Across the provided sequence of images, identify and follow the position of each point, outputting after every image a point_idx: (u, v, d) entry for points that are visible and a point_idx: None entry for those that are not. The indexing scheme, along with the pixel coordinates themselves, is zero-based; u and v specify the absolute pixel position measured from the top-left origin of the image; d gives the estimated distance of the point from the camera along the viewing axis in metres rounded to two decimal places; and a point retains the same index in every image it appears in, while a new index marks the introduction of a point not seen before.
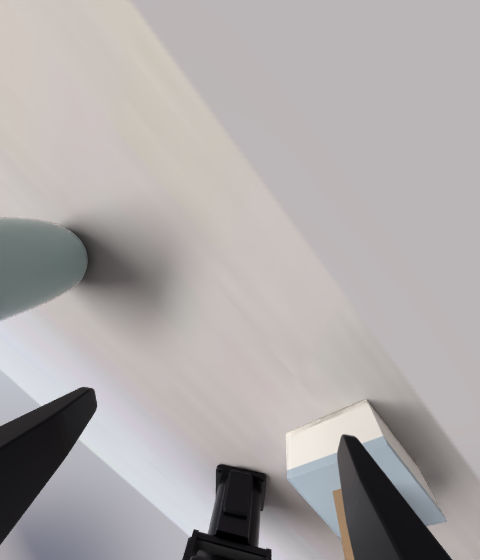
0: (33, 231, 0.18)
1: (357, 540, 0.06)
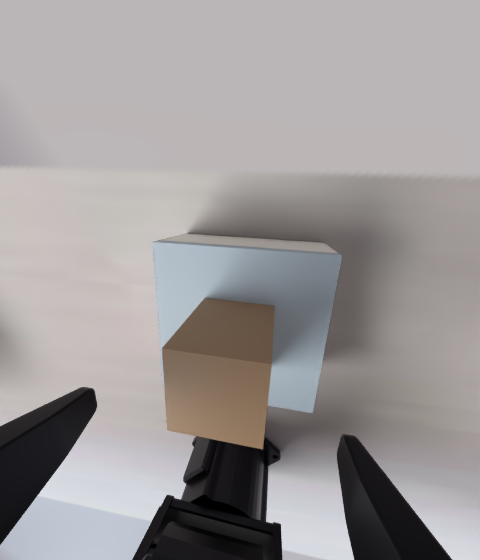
0: None
1: (357, 540, 0.06)
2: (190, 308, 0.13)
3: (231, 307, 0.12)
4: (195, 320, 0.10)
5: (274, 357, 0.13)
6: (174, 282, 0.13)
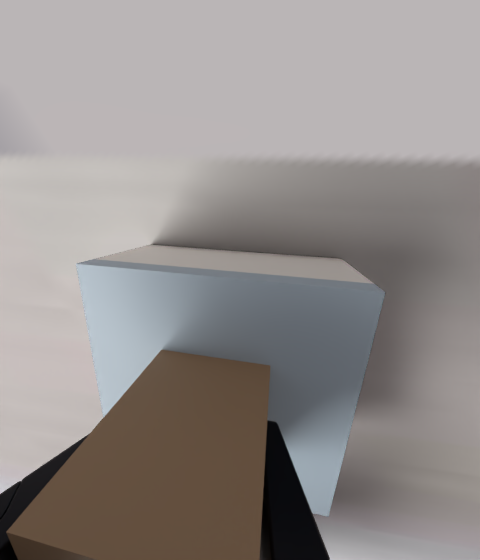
0: None
1: None
2: (141, 363, 0.09)
3: (199, 372, 0.07)
4: (125, 413, 0.06)
5: None
6: (114, 325, 0.08)
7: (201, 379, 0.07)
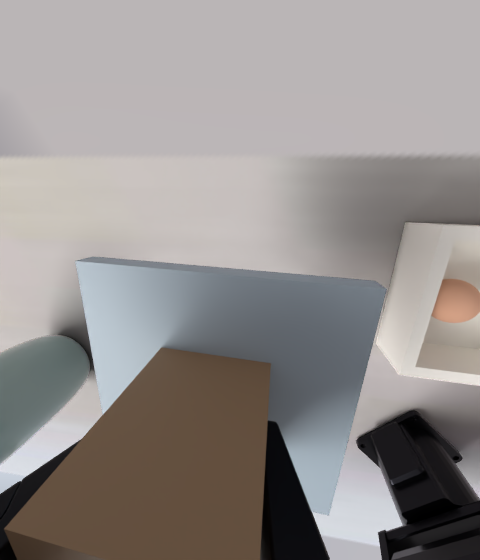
0: (8, 351, 0.20)
1: None
2: (141, 361, 0.09)
3: (199, 370, 0.07)
4: (124, 410, 0.06)
5: None
6: (114, 323, 0.08)
7: (201, 377, 0.07)
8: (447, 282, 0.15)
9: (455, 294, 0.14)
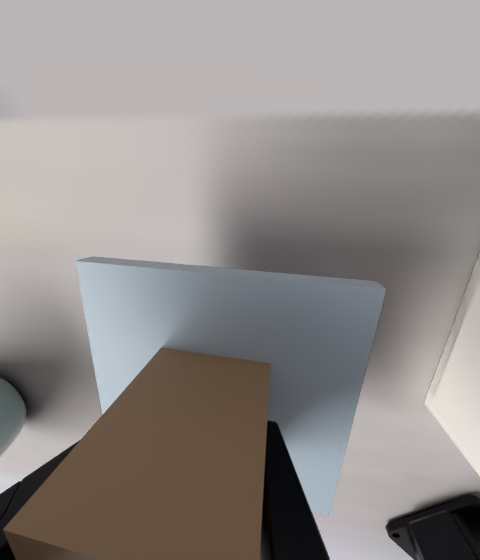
0: None
1: None
2: (141, 361, 0.09)
3: (199, 370, 0.07)
4: (124, 411, 0.06)
5: None
6: (114, 323, 0.08)
7: (201, 377, 0.07)
8: None
9: None
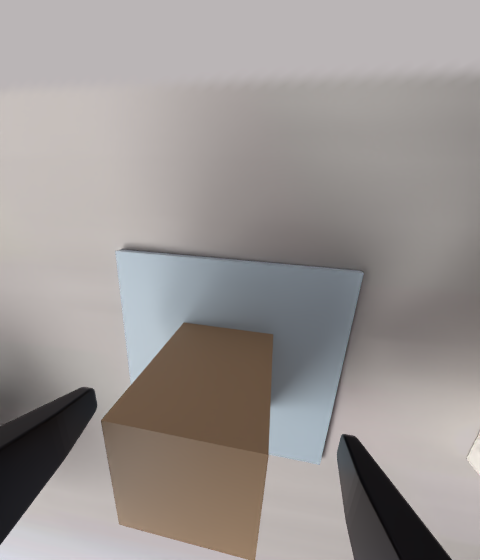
0: None
1: (357, 540, 0.06)
2: (166, 334, 0.10)
3: (217, 338, 0.09)
4: (164, 361, 0.07)
5: (272, 397, 0.10)
6: (145, 302, 0.10)
7: (219, 342, 0.09)
8: None
9: None
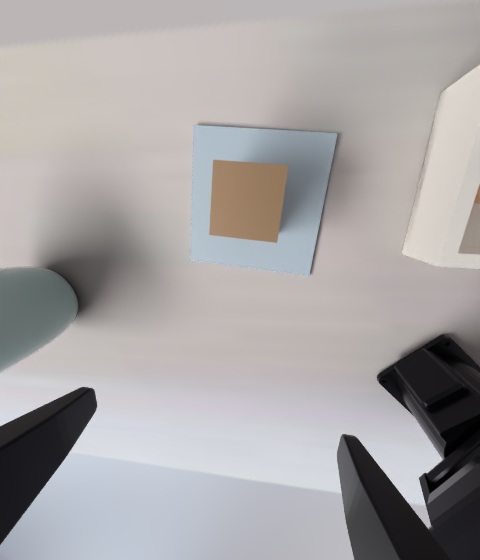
0: None
1: (357, 540, 0.06)
2: None
3: None
4: None
5: (282, 225, 0.17)
6: (208, 160, 0.17)
7: None
8: None
9: None
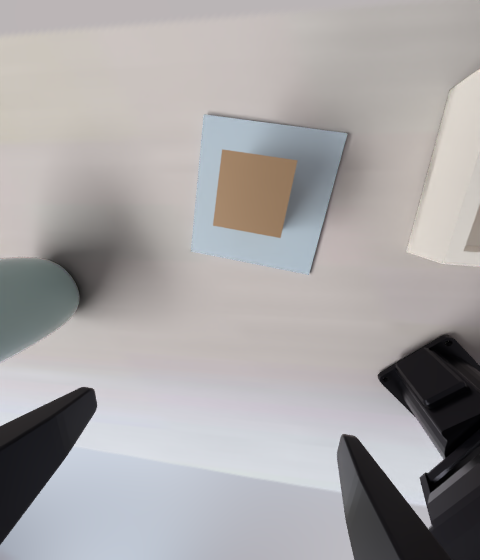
0: None
1: (357, 540, 0.06)
2: None
3: None
4: None
5: (285, 222, 0.17)
6: (215, 151, 0.17)
7: None
8: None
9: None
